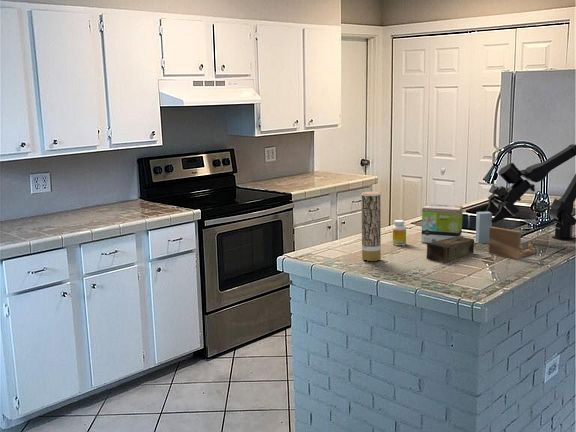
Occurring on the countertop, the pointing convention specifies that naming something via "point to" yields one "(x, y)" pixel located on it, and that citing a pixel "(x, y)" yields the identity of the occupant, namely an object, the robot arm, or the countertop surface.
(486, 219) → the grey block
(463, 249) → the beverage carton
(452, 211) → the tea box
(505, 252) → the wooden knob panel
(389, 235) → the countertop surface
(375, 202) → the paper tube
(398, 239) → the supplement bottle
